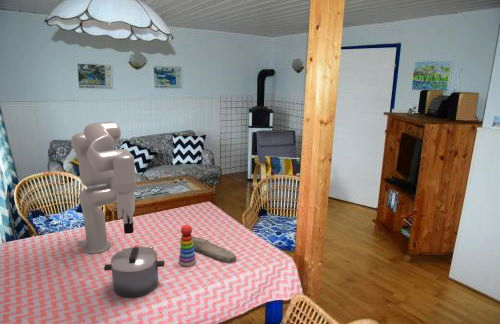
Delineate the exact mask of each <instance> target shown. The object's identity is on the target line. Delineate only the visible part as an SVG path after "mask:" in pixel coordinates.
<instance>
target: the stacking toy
mask: <svg viewBox="0 0 500 324" xmlns="http://www.w3.org/2000/svg"><path fill="white" fill-rule="evenodd" d="M180 232H181V234H182V235H181V236H180V249H179V251H180V252H179V255H178V256H179V257H178V263H179V265H180V266H183V267H191V266H193V265H195V264H196V262H197V259H196V251H194V246H193V245H194V244H193V240H192V236H193V234H192V232H193V228H192V226H191V225H190V224H185V225H183V226H181V228H180Z"/></svg>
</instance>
